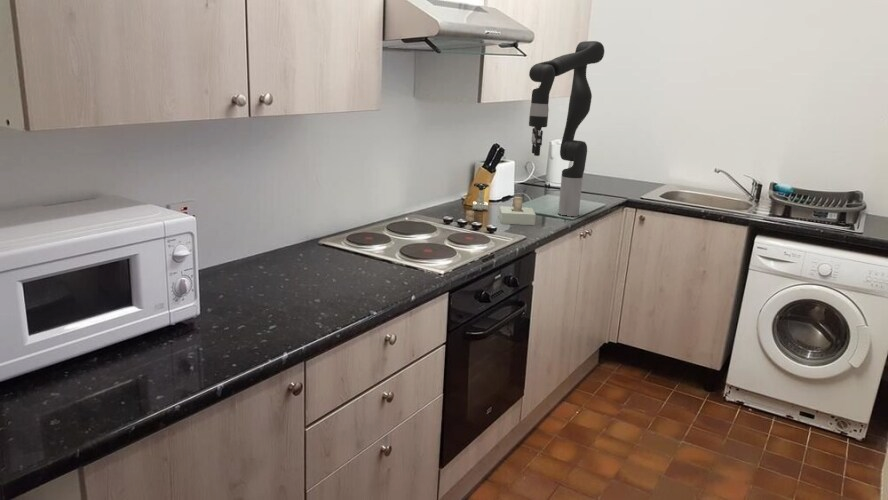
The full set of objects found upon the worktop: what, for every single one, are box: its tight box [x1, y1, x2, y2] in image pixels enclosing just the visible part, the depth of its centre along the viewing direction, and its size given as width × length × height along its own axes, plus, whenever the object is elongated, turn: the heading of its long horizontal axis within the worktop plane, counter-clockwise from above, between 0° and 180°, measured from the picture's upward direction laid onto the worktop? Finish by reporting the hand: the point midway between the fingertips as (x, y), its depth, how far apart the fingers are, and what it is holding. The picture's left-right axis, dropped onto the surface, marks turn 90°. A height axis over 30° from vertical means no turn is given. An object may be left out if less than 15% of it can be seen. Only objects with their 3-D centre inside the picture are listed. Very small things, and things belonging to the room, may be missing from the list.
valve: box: [472, 182, 490, 212], centre depth 292 cm, size 7×7×12 cm
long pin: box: [512, 196, 523, 212], centre depth 274 cm, size 4×4×10 cm
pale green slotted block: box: [498, 205, 537, 226], centre depth 275 cm, size 14×14×4 cm
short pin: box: [465, 209, 475, 223], centre depth 272 cm, size 4×4×4 cm
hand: (535, 154), depth 270 cm, fingers open, 8 cm apart
